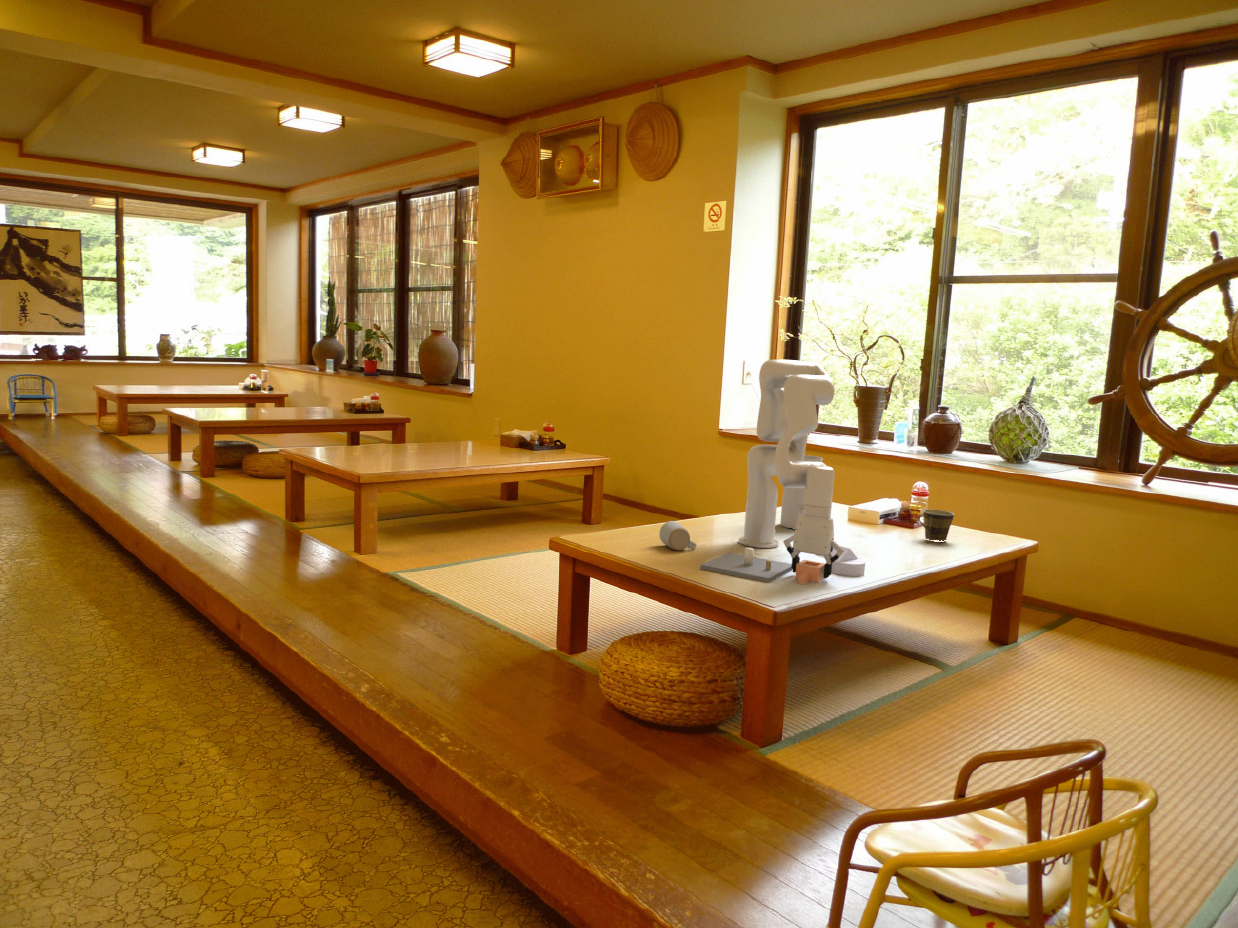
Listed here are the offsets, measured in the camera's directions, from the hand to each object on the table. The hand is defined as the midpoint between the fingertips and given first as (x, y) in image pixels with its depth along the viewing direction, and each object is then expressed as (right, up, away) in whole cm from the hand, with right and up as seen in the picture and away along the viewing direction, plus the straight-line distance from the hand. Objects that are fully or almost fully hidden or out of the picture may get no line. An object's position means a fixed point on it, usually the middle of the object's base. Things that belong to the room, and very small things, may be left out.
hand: (810, 574), depth 239 cm
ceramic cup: (+55, +3, +63) cm, 84 cm away
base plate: (-16, +1, +6) cm, 17 cm away
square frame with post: (-1, -1, -2) cm, 3 cm away
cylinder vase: (+11, +7, +72) cm, 73 cm away
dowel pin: (-11, +1, +2) cm, 12 cm away
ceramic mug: (-34, +4, +27) cm, 44 cm away
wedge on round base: (+12, -1, +12) cm, 17 cm away
